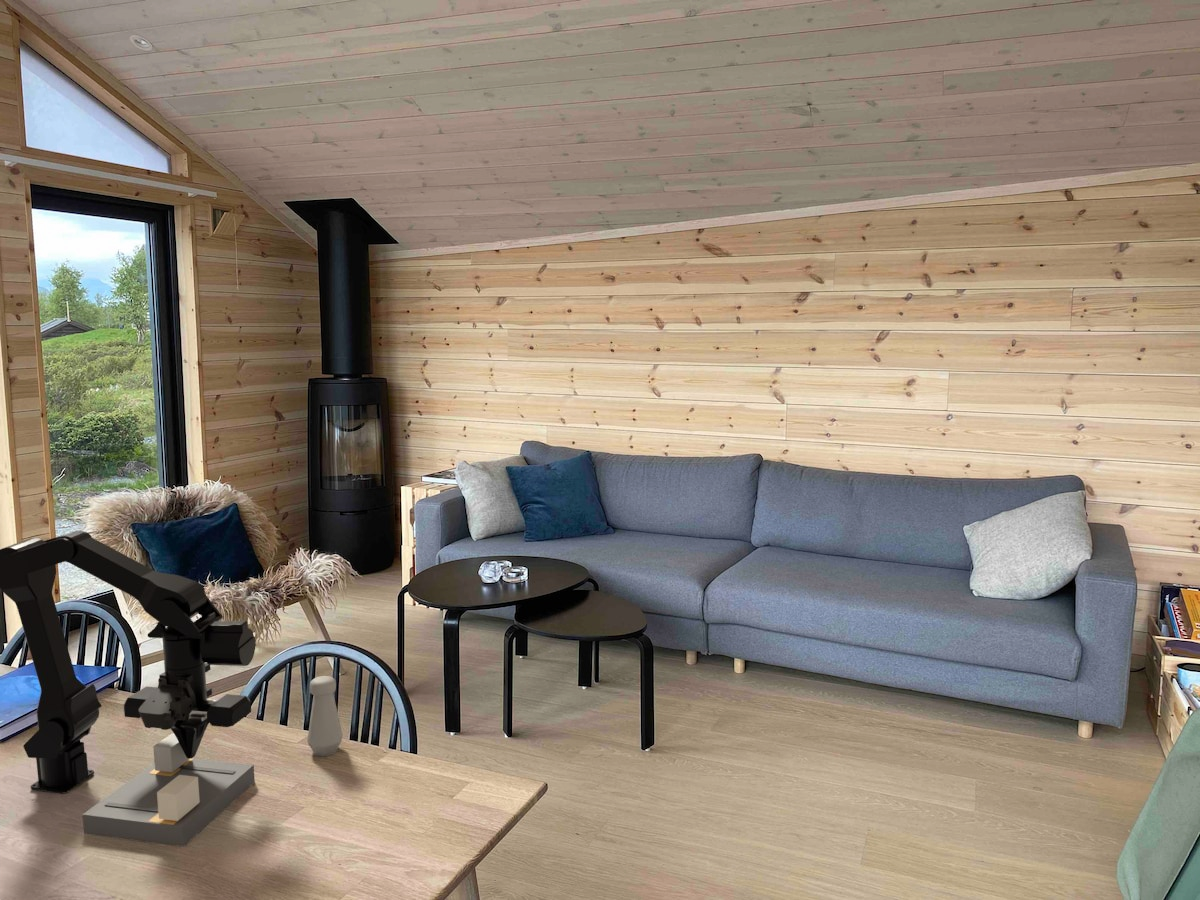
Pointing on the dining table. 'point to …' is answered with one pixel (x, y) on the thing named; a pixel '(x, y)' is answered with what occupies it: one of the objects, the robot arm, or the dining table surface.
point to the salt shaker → (324, 718)
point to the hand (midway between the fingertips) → (191, 757)
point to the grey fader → (169, 754)
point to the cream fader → (178, 797)
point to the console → (137, 803)
